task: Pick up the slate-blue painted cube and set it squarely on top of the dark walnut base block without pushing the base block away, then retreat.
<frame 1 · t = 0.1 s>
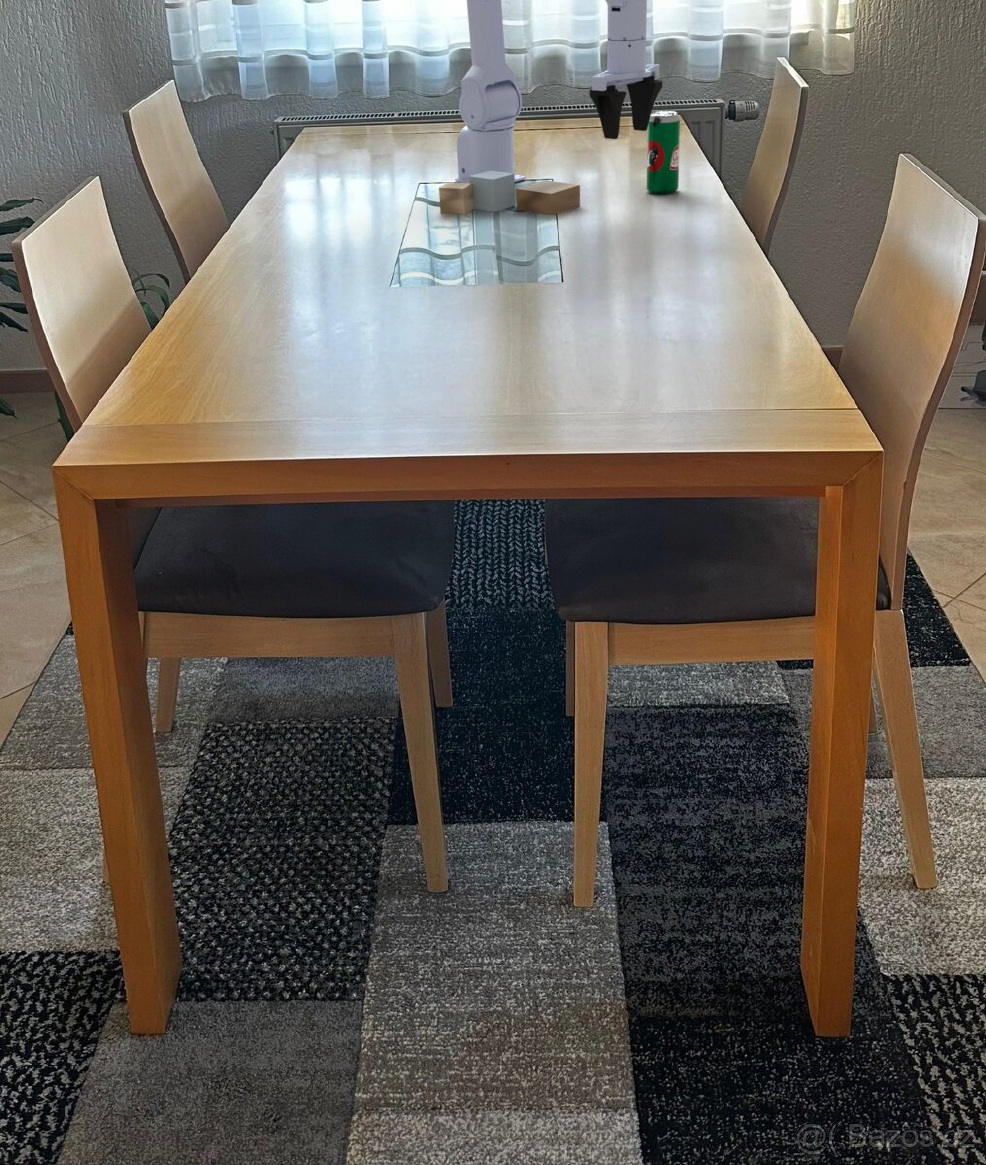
hand: (625, 134, 197), 10 cm above the table, fingers open, 7 cm apart
walnut base: (548, 209, 201), on the table
oak block: (457, 211, 201), on the table
blue cube: (493, 207, 203), on the table
soda can: (662, 193, 207), on the table
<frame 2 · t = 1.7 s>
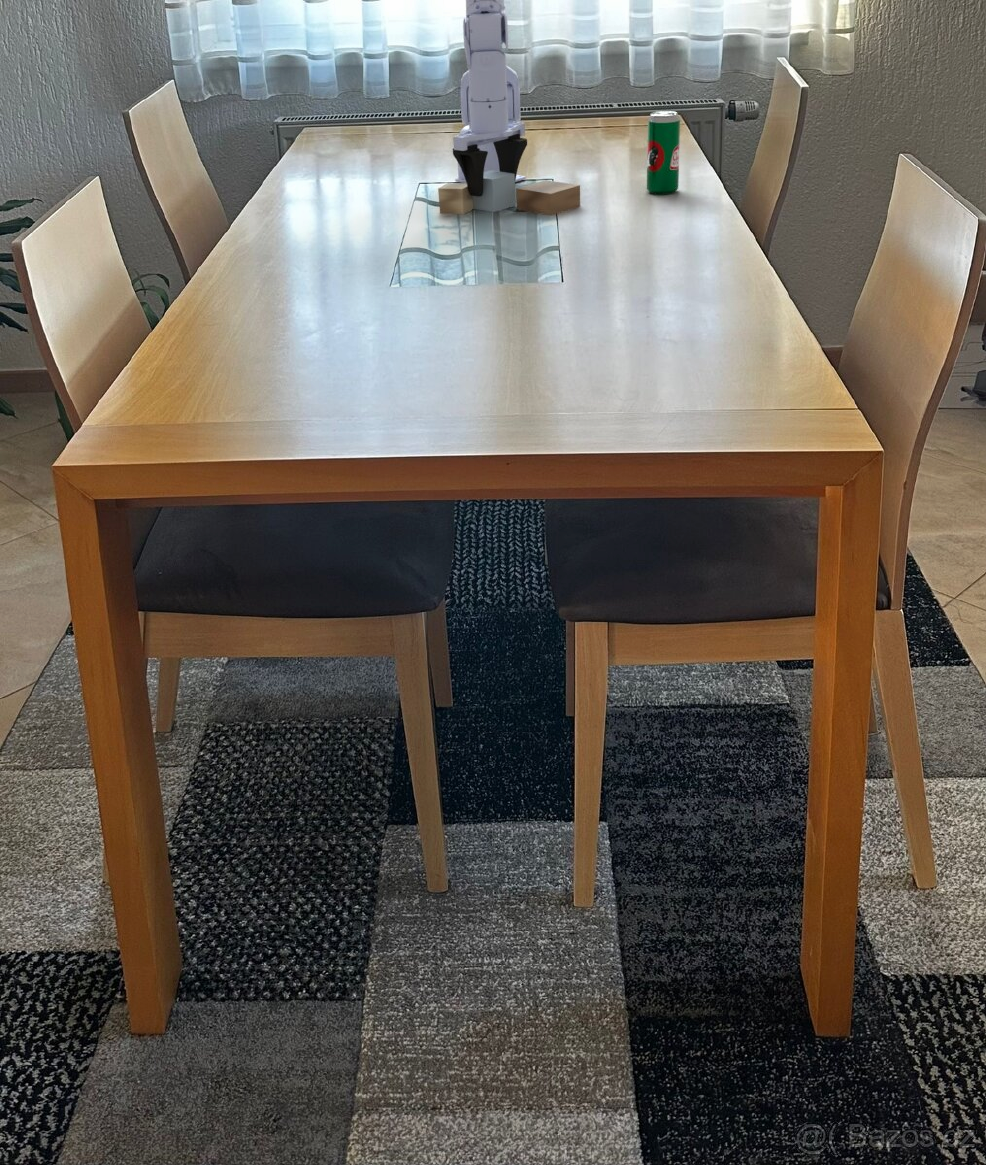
hand: (492, 190, 201), 2 cm above the table, fingers open, 7 cm apart
oak block: (456, 211, 201), on the table, touching gripper
everything else where it was.
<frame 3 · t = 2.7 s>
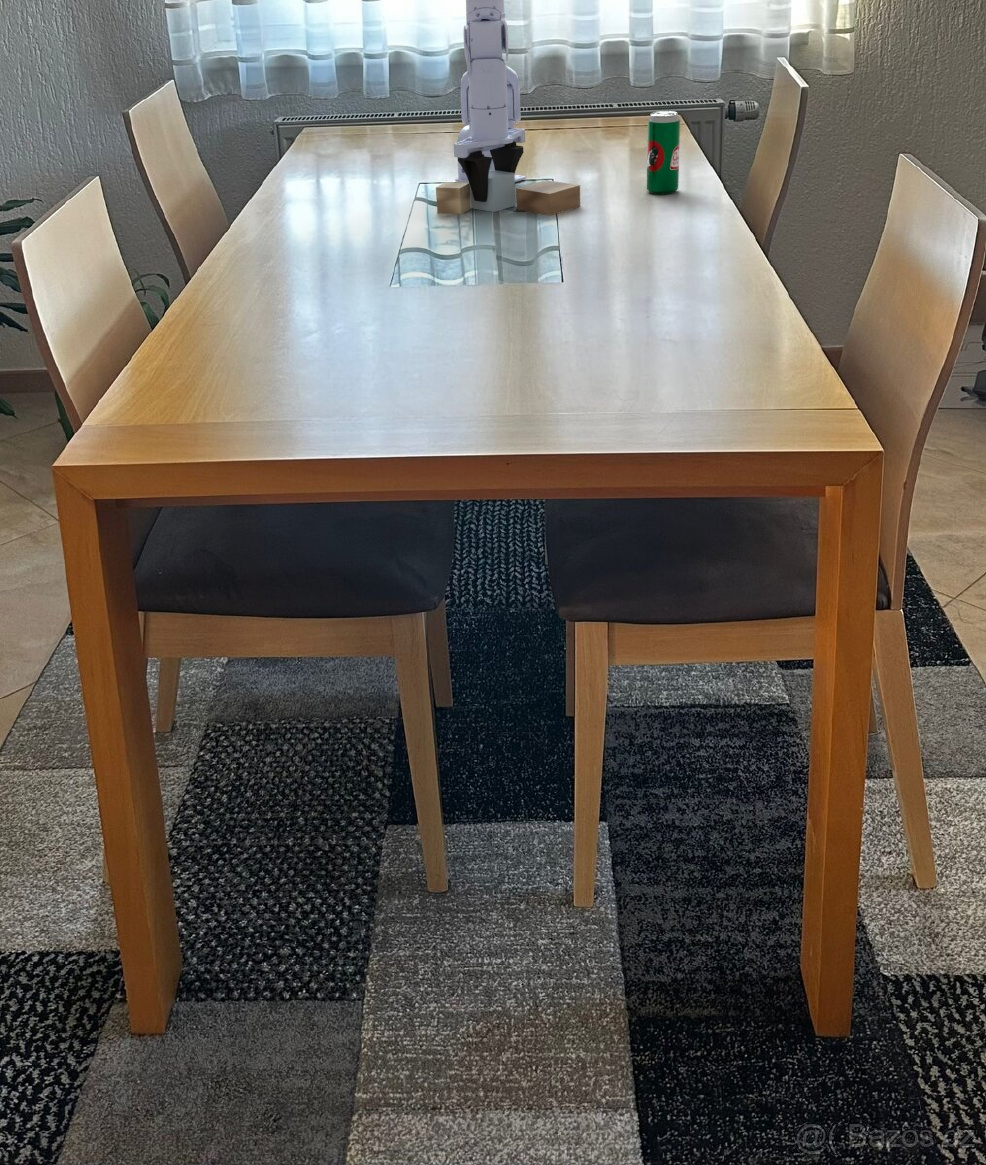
hand: (492, 197, 202), 1 cm above the table, fingers closed on blue cube, 5 cm apart
oak block: (454, 211, 201), on the table
blue cube: (493, 206, 203), on the table, touching gripper
everything else where it was.
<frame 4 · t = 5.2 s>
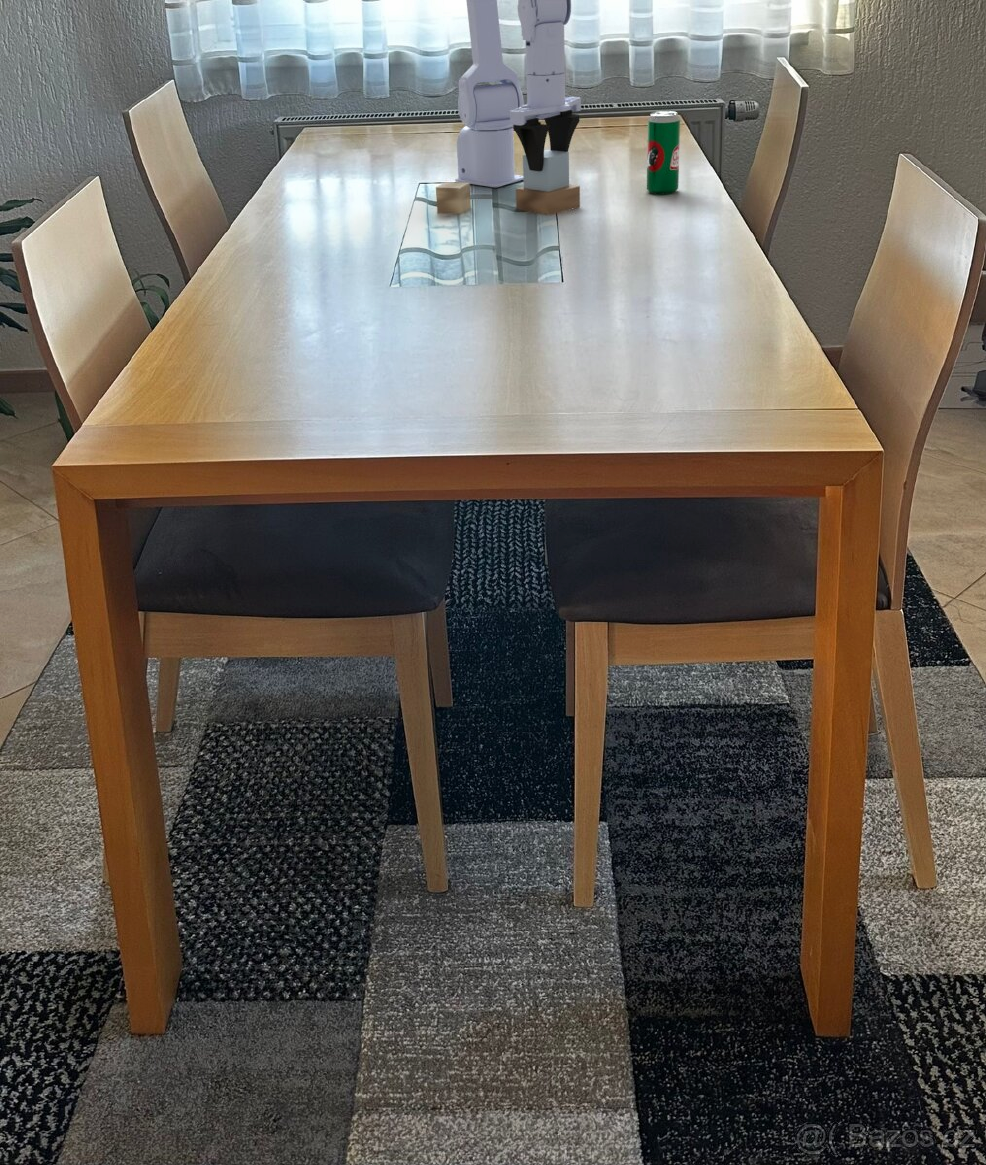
hand: (547, 167, 197), 6 cm above the table, fingers closed on blue cube, 5 cm apart
blue cube: (546, 186, 199), point 3 cm above the table, touching gripper
everything else where it was.
when the fingers open (6 cm above the table, at t = 5.9 s): blue cube stays where it is, resting on walnut base.
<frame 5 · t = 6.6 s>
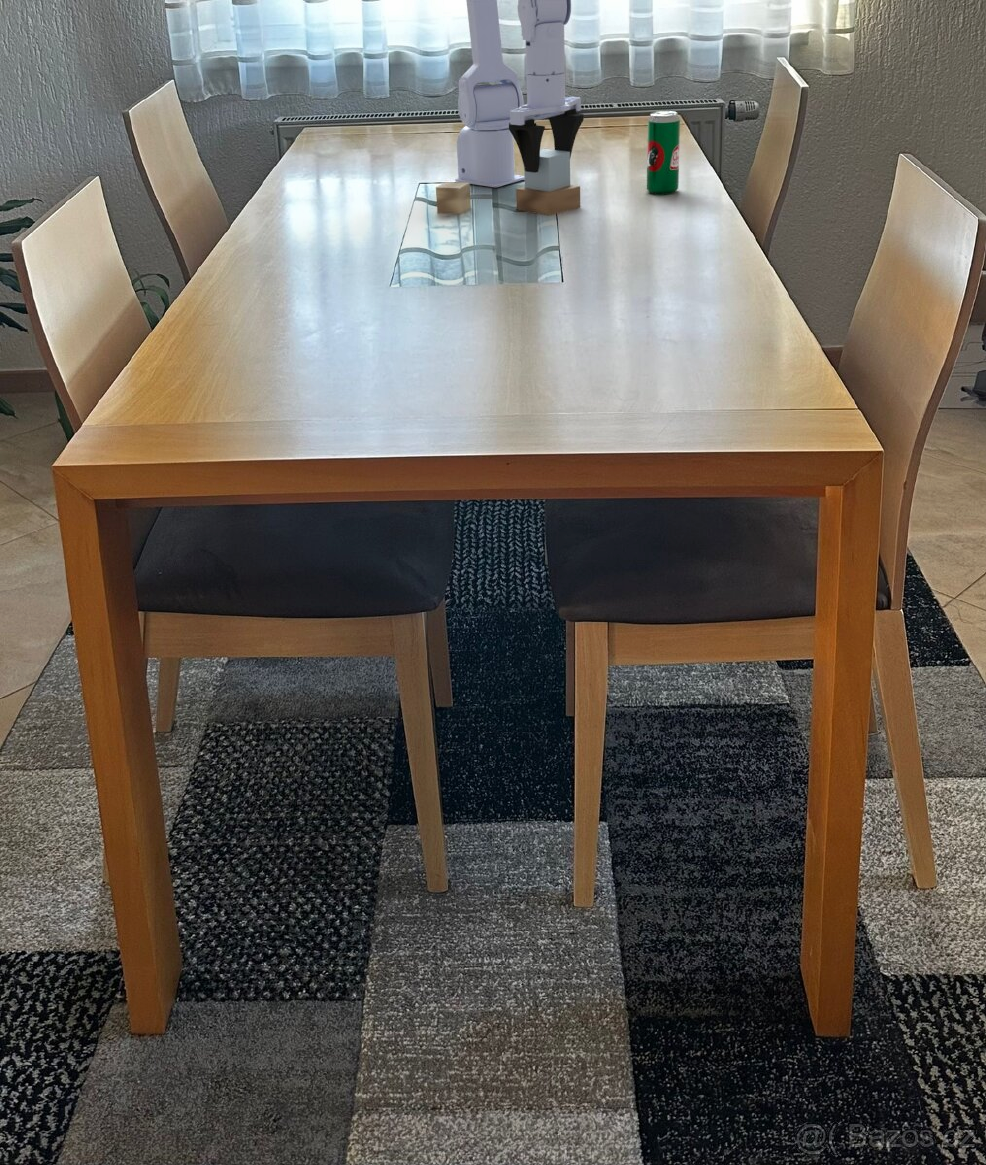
hand: (547, 167, 197), 6 cm above the table, fingers open, 7 cm apart
walnut base: (548, 210, 200), on the table, touching blue cube
blue cube: (547, 186, 199), point 3 cm above the table, touching walnut base
everything else where it was.
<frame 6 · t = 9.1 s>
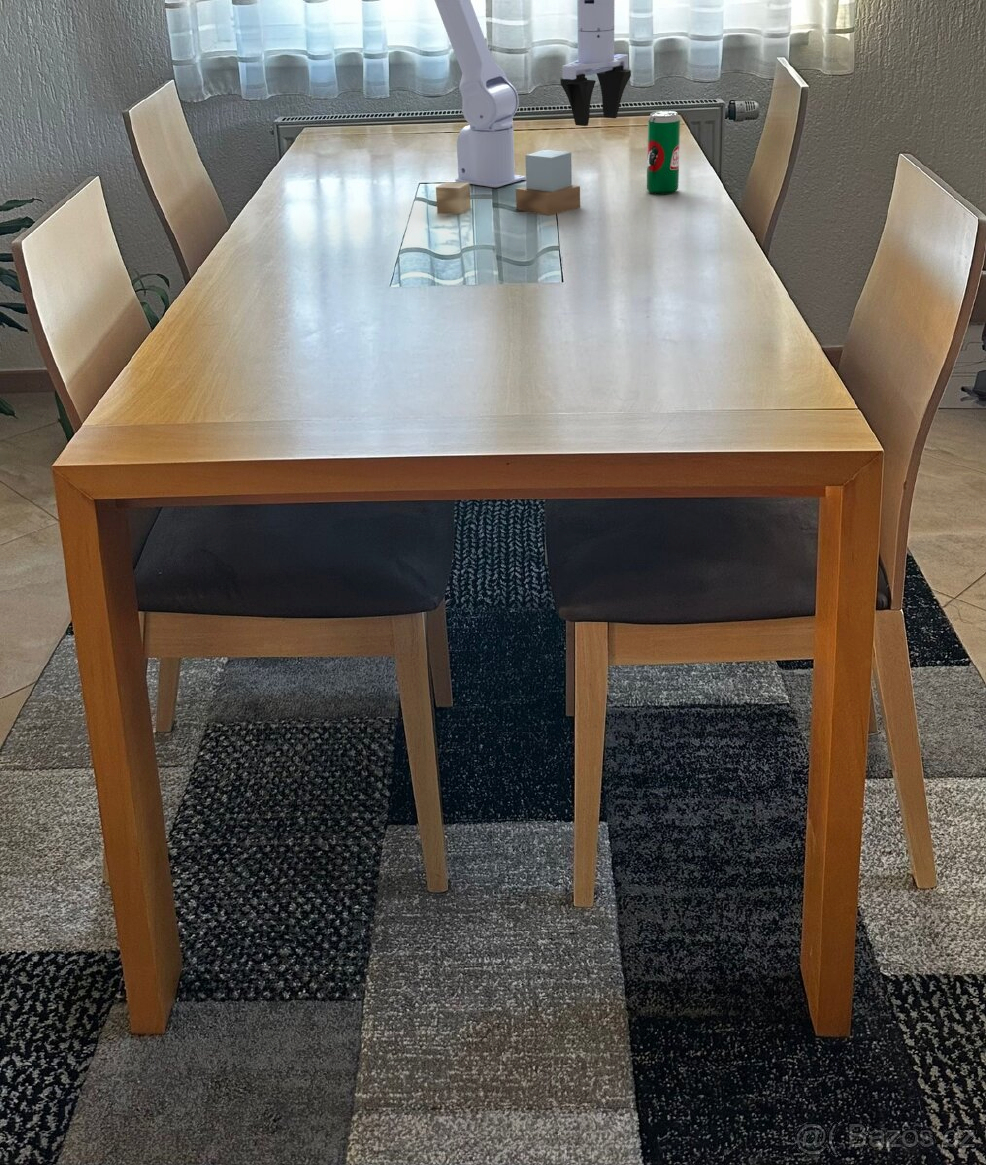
hand: (596, 121, 206), 10 cm above the table, fingers open, 7 cm apart
nothing on the table moved.
at the end: blue cube 0.2 cm off-centre on the walnut base, point 3.5 cm above the walnut base's base; blue cube tilted 1°; walnut base moved 0.4 cm from its start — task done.
